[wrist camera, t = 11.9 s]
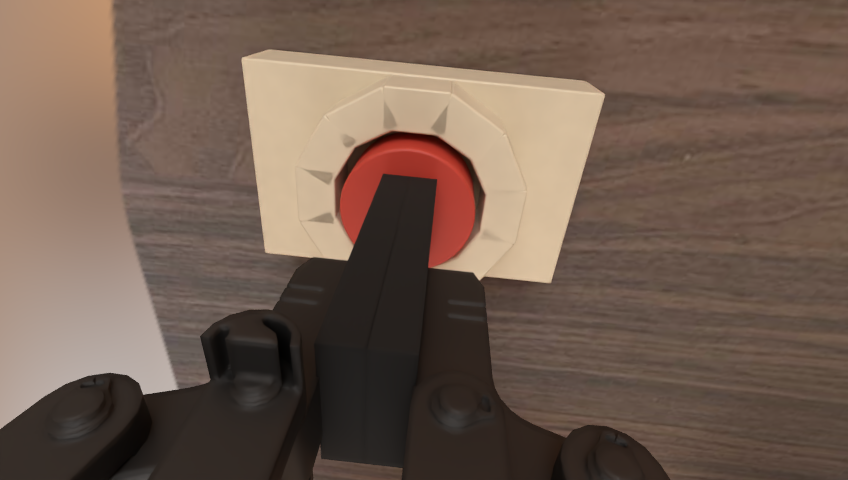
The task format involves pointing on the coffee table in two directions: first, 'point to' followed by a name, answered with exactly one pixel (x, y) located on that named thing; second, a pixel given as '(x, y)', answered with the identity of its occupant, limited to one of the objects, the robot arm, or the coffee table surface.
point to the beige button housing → (422, 114)
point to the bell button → (415, 160)
